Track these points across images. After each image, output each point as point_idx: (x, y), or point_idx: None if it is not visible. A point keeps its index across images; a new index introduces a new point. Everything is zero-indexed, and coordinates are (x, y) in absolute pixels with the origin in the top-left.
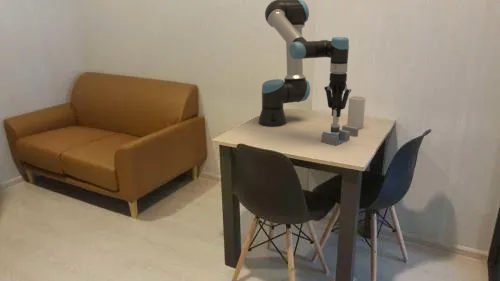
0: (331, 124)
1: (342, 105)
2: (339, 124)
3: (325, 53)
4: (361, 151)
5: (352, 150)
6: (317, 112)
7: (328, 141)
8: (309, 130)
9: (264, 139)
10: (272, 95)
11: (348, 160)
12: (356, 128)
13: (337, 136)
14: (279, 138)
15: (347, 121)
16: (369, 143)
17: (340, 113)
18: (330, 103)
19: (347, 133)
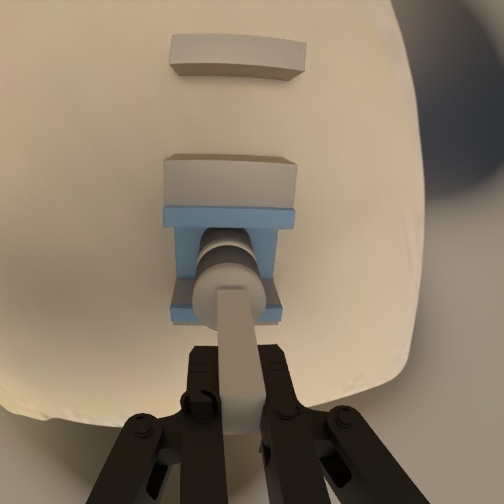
0: (204, 321)
1: (351, 476)
2: (258, 285)
3: None
4: (389, 285)
5: (356, 299)
6: None
7: None
8: (15, 172)
9: (35, 376)
10: None
11: (365, 373)
12: (298, 60)
13: (279, 318)
14: (42, 349)
15: None
16: (394, 159)
17: (288, 371)
18: (161, 486)
19: (292, 200)
